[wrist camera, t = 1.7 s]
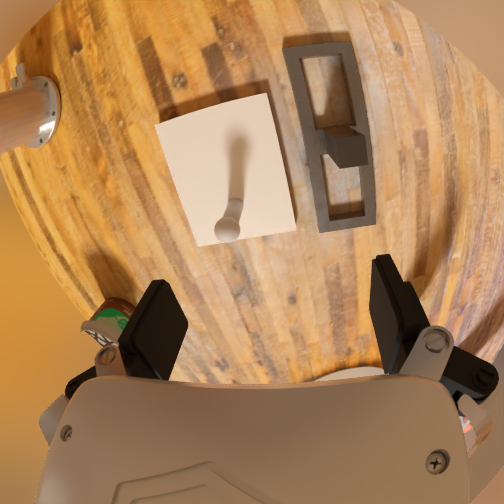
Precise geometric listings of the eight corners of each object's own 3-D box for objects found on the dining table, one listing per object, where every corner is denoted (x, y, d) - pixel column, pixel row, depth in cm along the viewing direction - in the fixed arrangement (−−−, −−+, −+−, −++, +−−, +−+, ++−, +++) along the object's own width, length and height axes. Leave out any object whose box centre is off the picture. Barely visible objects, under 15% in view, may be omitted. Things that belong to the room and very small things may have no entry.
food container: (159, 321, 51) (142, 360, 43) (144, 331, 54) (128, 368, 45) (111, 282, 47) (87, 319, 38) (100, 295, 49) (77, 330, 41)
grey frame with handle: (282, 50, 24) (283, 36, 18) (347, 43, 23) (368, 30, 16) (318, 227, 37) (326, 261, 30) (372, 219, 35) (391, 250, 29)
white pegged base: (159, 123, 30) (122, 137, 23) (266, 92, 28) (263, 91, 20) (200, 241, 40) (182, 281, 32) (295, 224, 37) (300, 265, 29)
